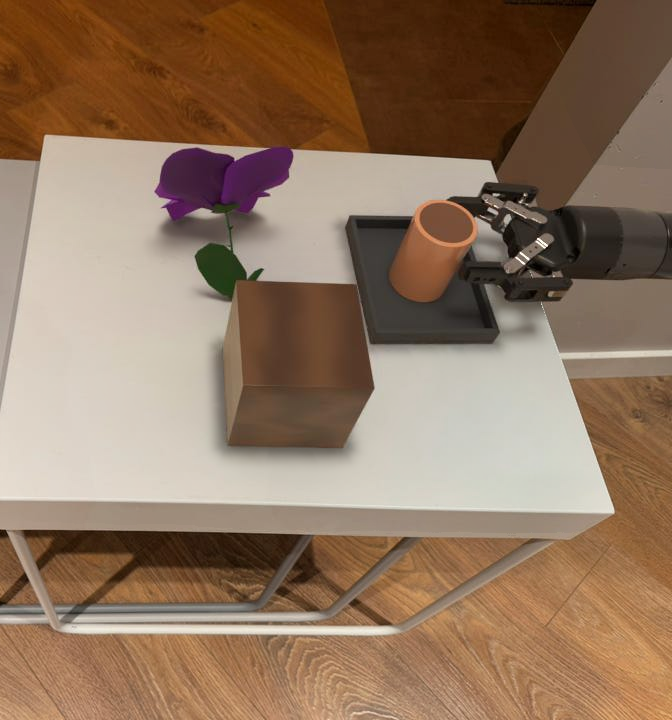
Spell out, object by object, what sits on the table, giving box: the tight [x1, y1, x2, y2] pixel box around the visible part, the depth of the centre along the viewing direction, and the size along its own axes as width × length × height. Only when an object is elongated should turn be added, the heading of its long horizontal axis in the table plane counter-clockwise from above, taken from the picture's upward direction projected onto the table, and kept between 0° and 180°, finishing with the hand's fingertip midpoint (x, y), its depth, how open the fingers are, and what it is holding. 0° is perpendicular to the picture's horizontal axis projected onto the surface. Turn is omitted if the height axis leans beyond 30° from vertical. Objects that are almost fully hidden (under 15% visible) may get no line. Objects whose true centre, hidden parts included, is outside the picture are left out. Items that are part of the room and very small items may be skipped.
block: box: [222, 280, 376, 449], centre depth 71 cm, size 11×11×11 cm
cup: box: [389, 199, 479, 302], centre depth 81 cm, size 6×6×9 cm
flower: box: [153, 146, 294, 297], centre depth 80 cm, size 15×15×14 cm
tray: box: [344, 214, 501, 345], centre depth 84 cm, size 16×13×2 cm
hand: (451, 238), depth 79 cm, fingers open, 8 cm apart
